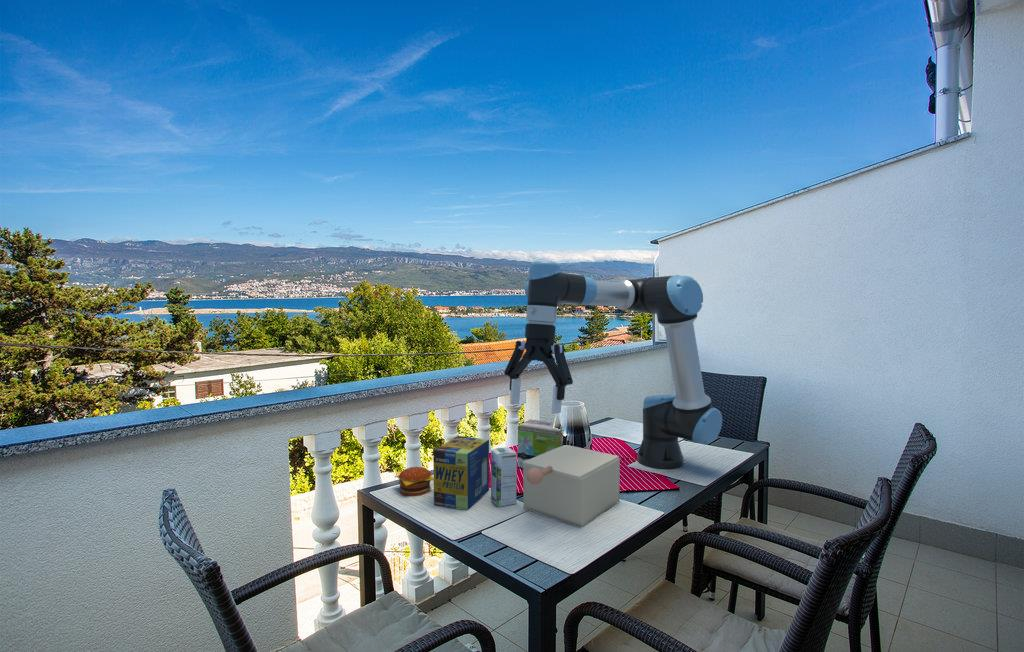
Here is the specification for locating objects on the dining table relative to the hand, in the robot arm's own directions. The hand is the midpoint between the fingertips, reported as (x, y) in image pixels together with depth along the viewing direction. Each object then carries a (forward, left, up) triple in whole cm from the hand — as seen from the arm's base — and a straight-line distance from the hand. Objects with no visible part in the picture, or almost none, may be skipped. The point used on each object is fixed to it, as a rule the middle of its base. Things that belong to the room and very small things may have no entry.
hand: (534, 408), depth 122 cm
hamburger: (+6, -40, -29) cm, 50 cm away
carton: (-14, +2, -29) cm, 32 cm away
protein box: (+1, -25, -29) cm, 39 cm away
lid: (-10, +2, -18) cm, 21 cm away
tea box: (-34, -22, -29) cm, 50 cm away
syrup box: (-4, -14, -29) cm, 33 cm away
